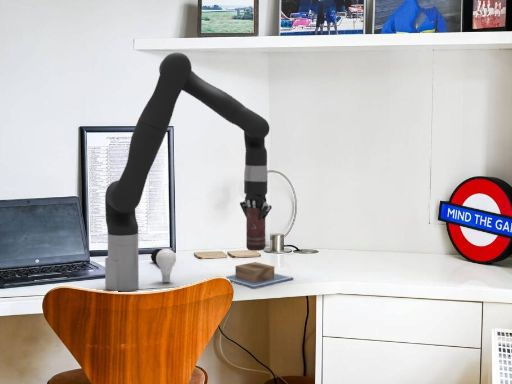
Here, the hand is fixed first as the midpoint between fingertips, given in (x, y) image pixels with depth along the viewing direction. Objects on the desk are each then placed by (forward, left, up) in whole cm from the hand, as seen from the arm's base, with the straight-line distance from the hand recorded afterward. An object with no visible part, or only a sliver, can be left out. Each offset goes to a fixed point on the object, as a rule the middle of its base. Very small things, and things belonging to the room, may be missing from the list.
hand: (255, 232), depth 218 cm
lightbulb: (-24, +16, -16) cm, 33 cm away
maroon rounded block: (0, 0, -6) cm, 6 cm away
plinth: (0, 0, -15) cm, 15 cm away
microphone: (-12, +35, -16) cm, 41 cm away
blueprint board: (+1, 0, -16) cm, 16 cm away
